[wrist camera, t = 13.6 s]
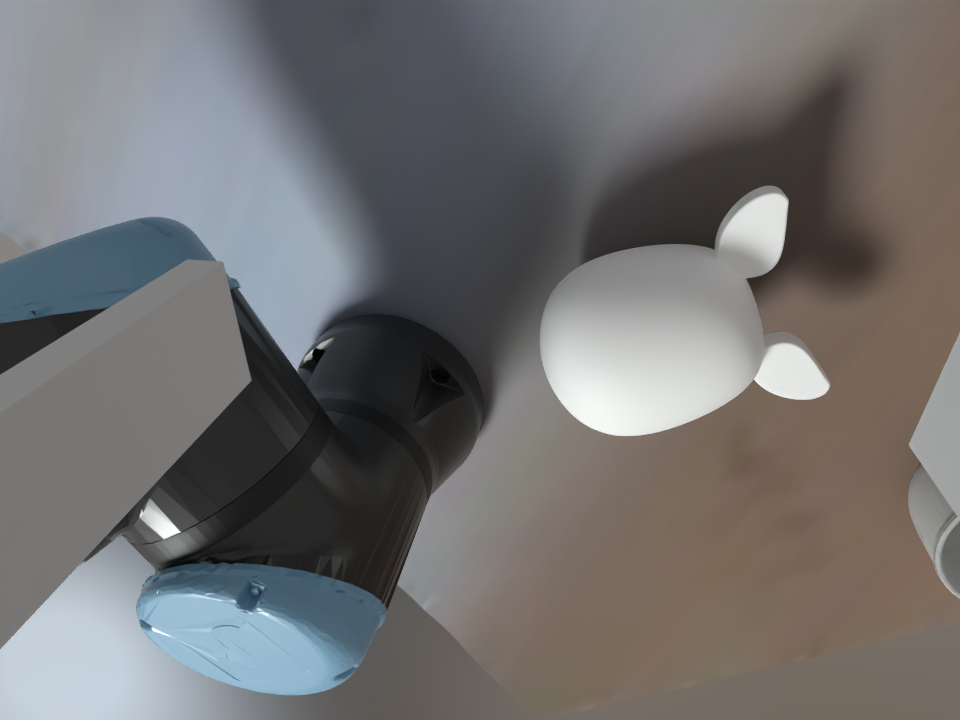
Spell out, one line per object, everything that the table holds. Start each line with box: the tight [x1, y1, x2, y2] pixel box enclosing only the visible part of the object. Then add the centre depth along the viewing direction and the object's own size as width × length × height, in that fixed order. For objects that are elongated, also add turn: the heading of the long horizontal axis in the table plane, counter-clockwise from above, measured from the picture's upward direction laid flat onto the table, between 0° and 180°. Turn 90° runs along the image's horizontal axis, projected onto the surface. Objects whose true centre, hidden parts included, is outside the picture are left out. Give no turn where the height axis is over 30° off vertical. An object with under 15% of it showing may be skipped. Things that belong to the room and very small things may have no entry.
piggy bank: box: [540, 186, 830, 436], centre depth 35 cm, size 12×12×15 cm
